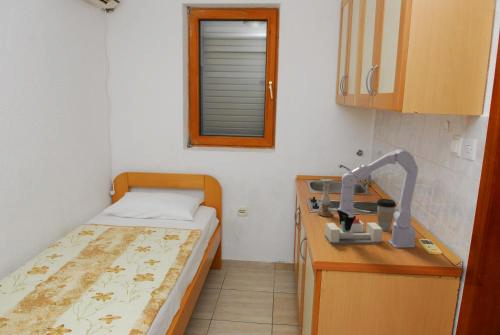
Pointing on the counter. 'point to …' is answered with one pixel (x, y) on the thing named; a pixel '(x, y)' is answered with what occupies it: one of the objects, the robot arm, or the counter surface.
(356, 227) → the box
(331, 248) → the counter surface
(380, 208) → the coffee cup
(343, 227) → the carriage
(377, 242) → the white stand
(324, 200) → the candle holder
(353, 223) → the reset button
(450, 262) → the counter surface
